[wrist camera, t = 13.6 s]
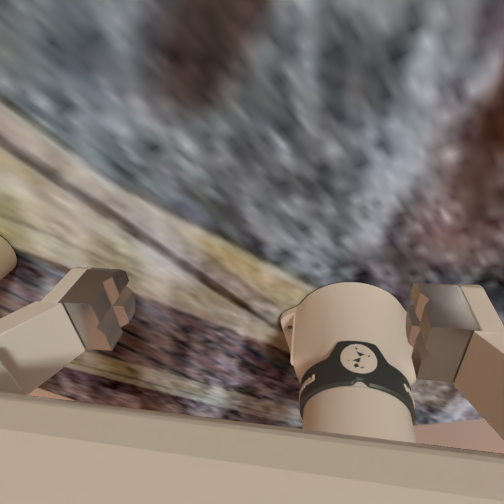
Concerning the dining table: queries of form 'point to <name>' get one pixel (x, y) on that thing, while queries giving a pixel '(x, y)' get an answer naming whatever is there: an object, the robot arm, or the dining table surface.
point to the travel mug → (6, 258)
